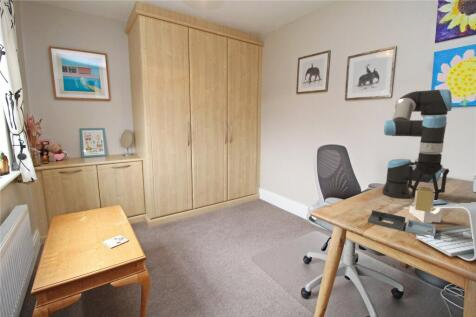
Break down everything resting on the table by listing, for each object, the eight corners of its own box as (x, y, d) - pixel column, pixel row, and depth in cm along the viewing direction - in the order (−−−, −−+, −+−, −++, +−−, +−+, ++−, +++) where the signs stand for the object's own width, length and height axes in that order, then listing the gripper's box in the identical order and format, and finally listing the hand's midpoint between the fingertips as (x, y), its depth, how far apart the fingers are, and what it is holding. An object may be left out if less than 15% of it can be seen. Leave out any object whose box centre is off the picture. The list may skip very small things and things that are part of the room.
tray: (407, 223, 111) (407, 219, 111) (434, 229, 105) (435, 225, 104) (405, 231, 104) (405, 227, 103) (434, 238, 97) (435, 233, 97)
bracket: (440, 224, 111) (442, 209, 109) (423, 223, 112) (425, 208, 111) (424, 213, 123) (426, 199, 122) (409, 212, 125) (410, 198, 123)
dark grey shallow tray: (371, 215, 121) (372, 210, 120) (404, 223, 112) (405, 217, 111) (367, 222, 113) (368, 216, 113) (402, 230, 104) (403, 224, 104)
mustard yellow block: (416, 206, 106) (418, 185, 104) (430, 208, 102) (433, 187, 101) (415, 209, 102) (417, 188, 100) (430, 212, 99) (433, 190, 97)
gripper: (403, 152, 101) (397, 203, 105) (460, 155, 89) (451, 213, 93) (405, 150, 107) (399, 198, 110) (459, 153, 95) (450, 207, 99)
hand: (423, 205), depth 102 cm, fingers closed on mustard yellow block, 5 cm apart
